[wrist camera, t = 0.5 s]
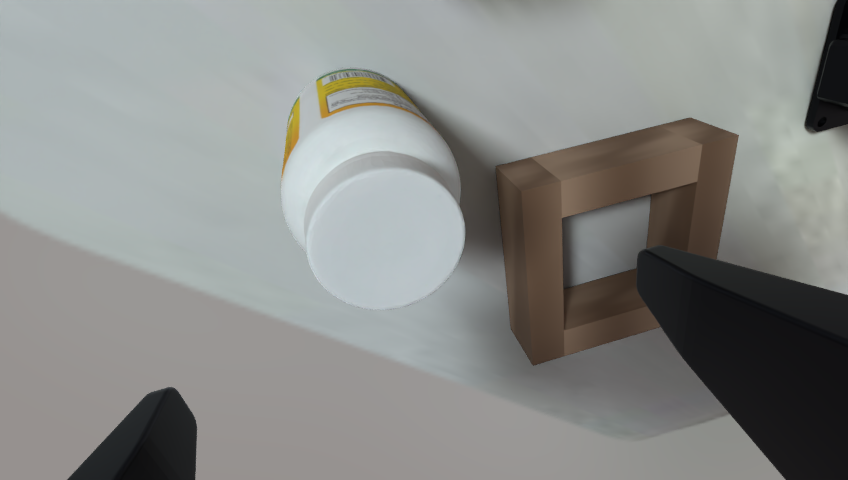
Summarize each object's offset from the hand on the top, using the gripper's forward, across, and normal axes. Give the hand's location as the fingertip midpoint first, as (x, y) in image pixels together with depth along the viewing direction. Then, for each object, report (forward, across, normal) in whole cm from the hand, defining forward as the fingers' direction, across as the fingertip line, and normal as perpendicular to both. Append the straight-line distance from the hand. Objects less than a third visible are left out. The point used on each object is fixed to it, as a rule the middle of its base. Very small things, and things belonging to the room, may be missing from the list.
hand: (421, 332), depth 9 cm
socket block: (+13, -11, +8) cm, 19 cm away
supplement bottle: (+13, 0, 0) cm, 13 cm away
